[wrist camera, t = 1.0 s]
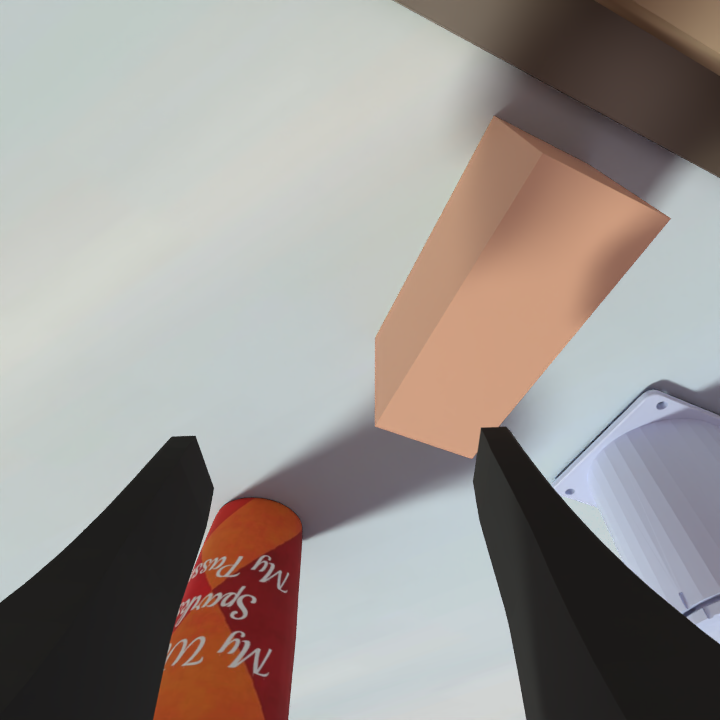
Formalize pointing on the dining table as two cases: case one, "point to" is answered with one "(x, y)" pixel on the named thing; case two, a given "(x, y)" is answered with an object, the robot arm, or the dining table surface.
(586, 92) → the wooden stand
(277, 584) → the paper cup
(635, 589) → the robot arm
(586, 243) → the block
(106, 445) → the dining table surface
